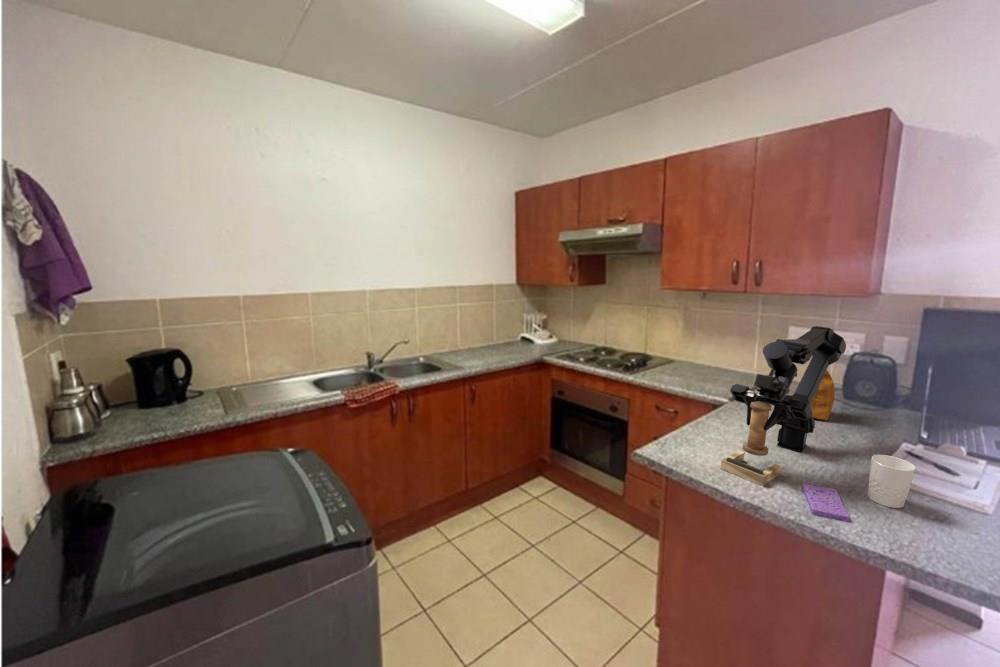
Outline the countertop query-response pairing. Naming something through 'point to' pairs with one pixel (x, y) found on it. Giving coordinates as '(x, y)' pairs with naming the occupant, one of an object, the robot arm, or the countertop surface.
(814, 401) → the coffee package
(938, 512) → the countertop surface
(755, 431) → the bobbin
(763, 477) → the wooden tray
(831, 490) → the sponges
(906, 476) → the white cup
